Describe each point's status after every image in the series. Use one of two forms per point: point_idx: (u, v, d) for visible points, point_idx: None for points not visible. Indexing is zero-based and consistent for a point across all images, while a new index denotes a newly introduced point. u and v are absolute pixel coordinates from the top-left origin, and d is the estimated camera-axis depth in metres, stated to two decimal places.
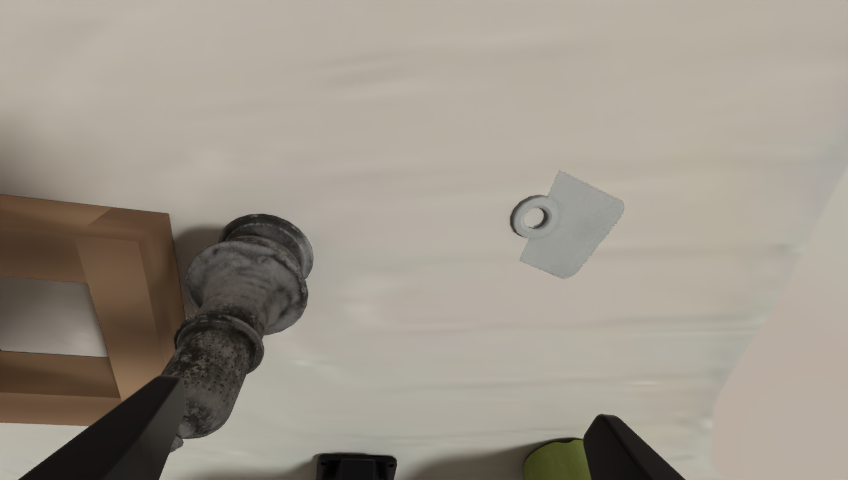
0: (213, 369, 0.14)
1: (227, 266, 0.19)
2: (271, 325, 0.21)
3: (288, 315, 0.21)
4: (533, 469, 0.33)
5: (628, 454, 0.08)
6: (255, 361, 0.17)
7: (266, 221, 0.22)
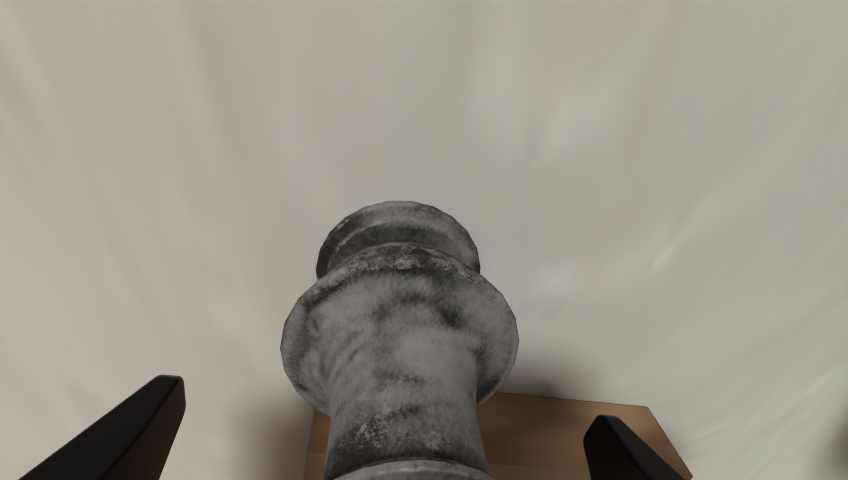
0: None
1: (320, 385, 0.09)
2: (484, 340, 0.09)
3: (467, 304, 0.09)
4: None
5: (628, 454, 0.08)
6: None
7: (326, 265, 0.12)
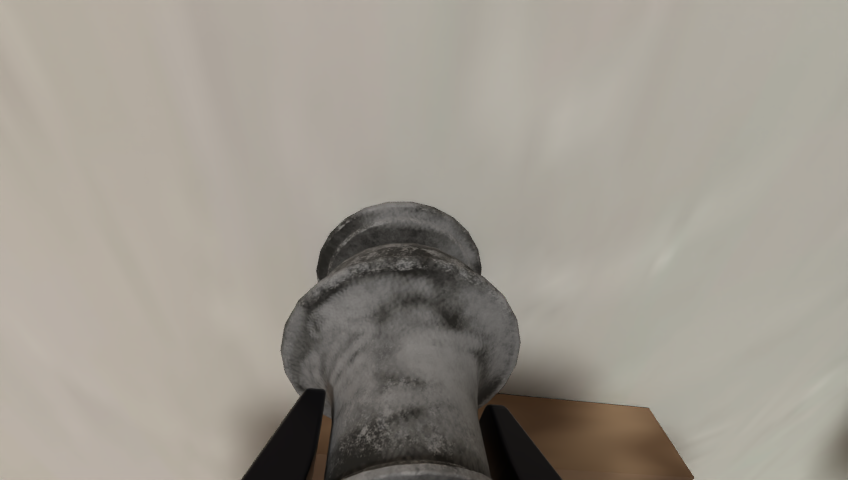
0: None
1: (321, 387, 0.09)
2: (485, 341, 0.09)
3: (468, 306, 0.09)
4: None
5: (502, 445, 0.08)
6: None
7: (327, 266, 0.12)
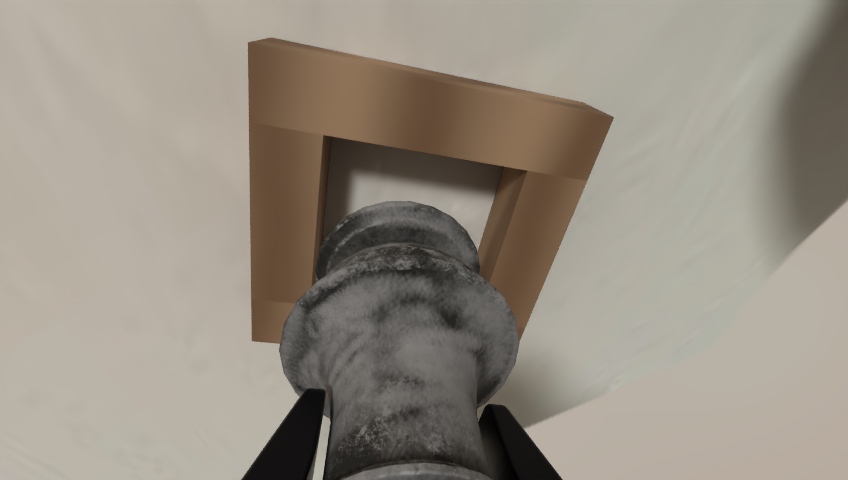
0: None
1: (320, 387, 0.09)
2: (484, 341, 0.09)
3: (467, 305, 0.09)
4: None
5: (502, 445, 0.08)
6: None
7: (326, 266, 0.12)
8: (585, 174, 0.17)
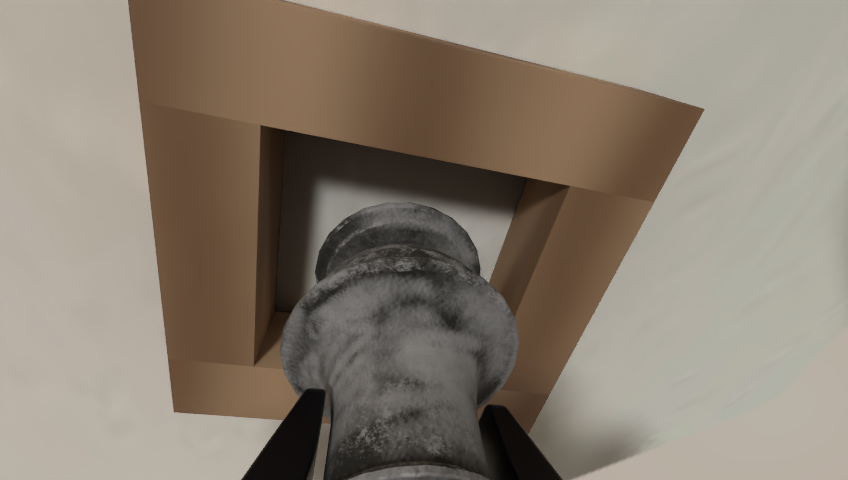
0: None
1: (320, 388, 0.09)
2: (484, 342, 0.09)
3: (467, 307, 0.09)
4: None
5: (502, 445, 0.08)
6: None
7: (326, 267, 0.12)
8: (652, 193, 0.12)
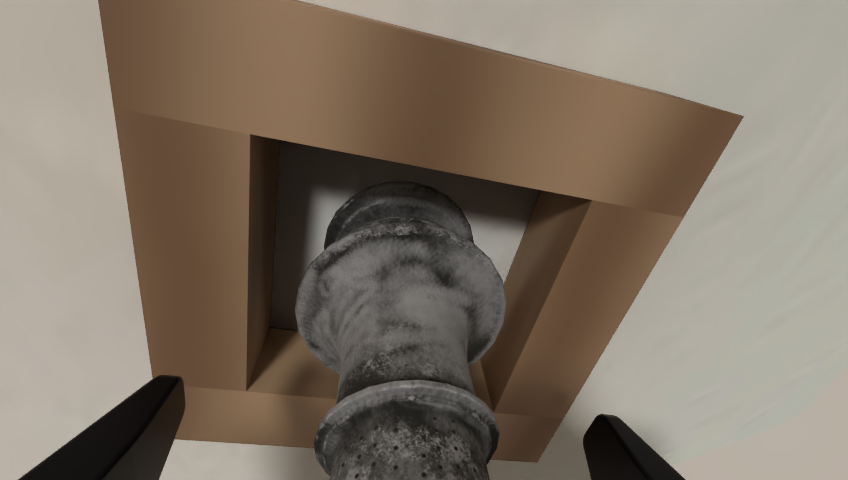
0: None
1: (331, 341, 0.11)
2: (474, 299, 0.10)
3: (458, 267, 0.10)
4: None
5: (628, 454, 0.08)
6: (450, 405, 0.07)
7: (334, 242, 0.14)
8: (682, 208, 0.11)
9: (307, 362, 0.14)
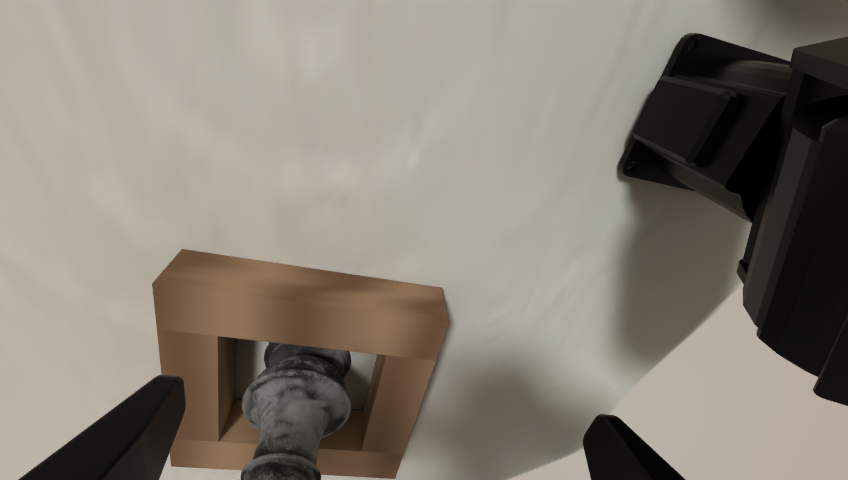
0: None
1: (259, 422, 0.22)
2: (329, 402, 0.21)
3: (319, 388, 0.21)
4: None
5: (628, 454, 0.08)
6: (292, 463, 0.18)
7: (269, 357, 0.24)
8: (433, 357, 0.22)
9: None
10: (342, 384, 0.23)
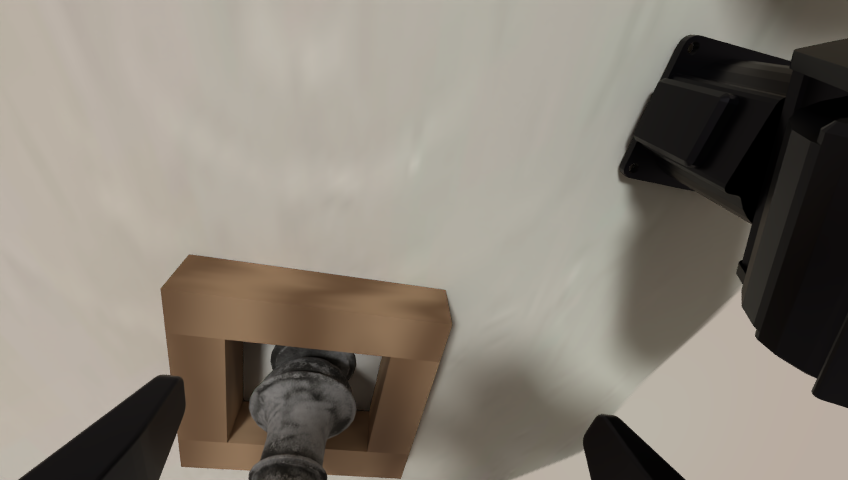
0: None
1: (266, 423, 0.22)
2: (334, 404, 0.22)
3: (325, 390, 0.21)
4: None
5: (628, 454, 0.08)
6: (299, 464, 0.18)
7: (275, 359, 0.25)
8: (437, 358, 0.22)
9: None
10: (347, 386, 0.23)
